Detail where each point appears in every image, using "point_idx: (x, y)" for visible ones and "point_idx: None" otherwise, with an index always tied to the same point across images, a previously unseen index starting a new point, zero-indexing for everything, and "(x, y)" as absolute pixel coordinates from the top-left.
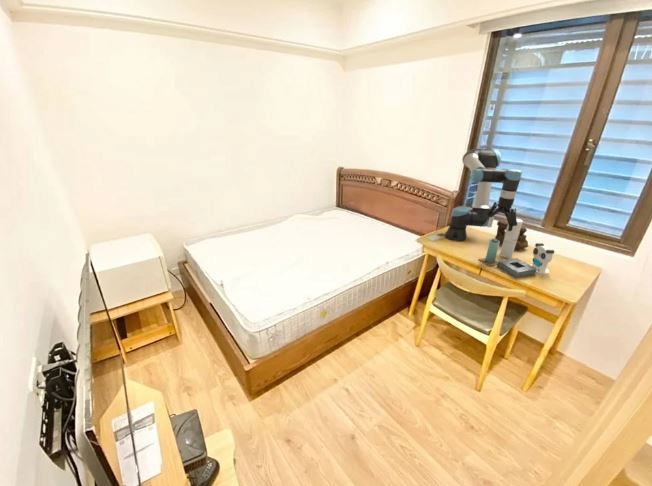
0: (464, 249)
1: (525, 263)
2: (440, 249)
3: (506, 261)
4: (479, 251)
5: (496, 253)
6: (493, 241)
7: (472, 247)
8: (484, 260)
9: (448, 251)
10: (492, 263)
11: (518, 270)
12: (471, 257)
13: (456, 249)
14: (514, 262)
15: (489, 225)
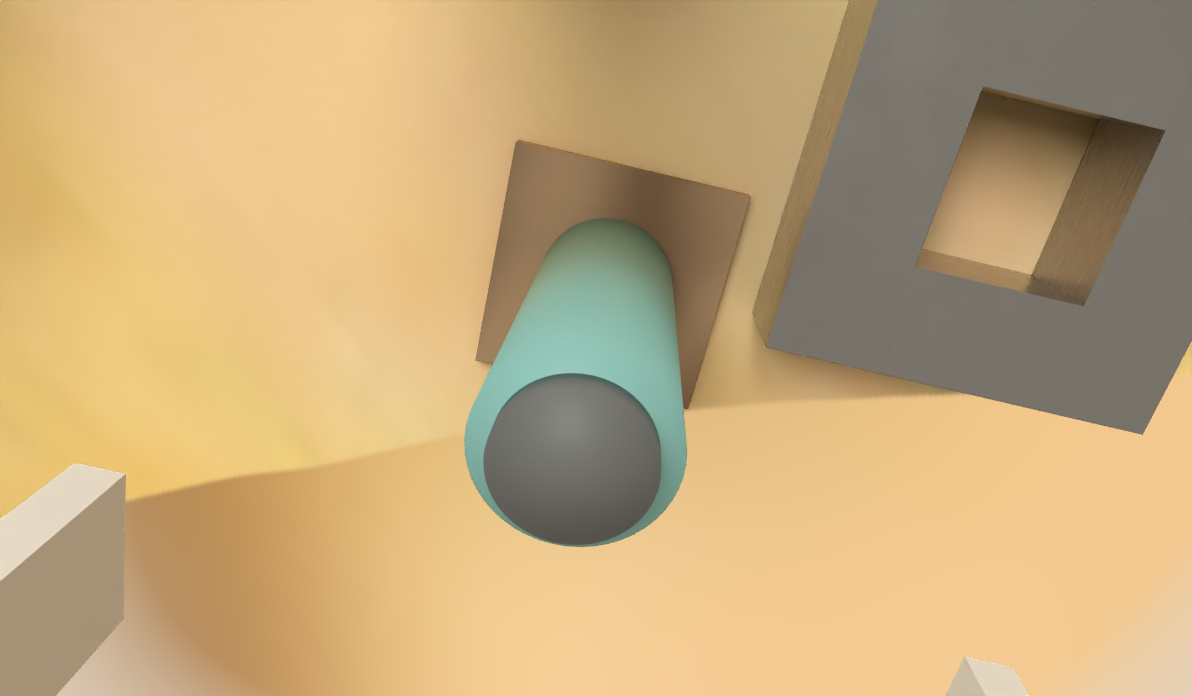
0: (114, 225)
1: (1120, 2)
2: None
3: (854, 245)
4: (260, 59)
5: (674, 323)
6: (586, 536)
7: (86, 21)
8: None
9: None
10: None
11: (1127, 376)
12: (376, 372)
13: (78, 338)
14: (958, 147)
15: (70, 627)
